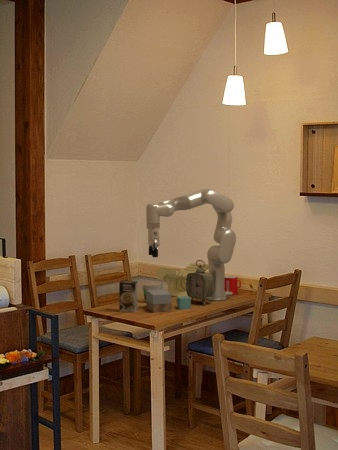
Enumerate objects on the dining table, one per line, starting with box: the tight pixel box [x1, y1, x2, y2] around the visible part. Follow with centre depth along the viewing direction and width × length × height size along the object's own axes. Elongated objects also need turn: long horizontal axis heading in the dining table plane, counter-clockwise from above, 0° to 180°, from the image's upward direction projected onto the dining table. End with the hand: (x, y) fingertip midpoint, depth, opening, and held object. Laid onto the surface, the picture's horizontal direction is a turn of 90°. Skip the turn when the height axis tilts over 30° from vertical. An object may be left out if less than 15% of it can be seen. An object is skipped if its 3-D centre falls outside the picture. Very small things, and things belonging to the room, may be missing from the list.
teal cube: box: [176, 296, 192, 310], centre depth 365 cm, size 6×6×6 cm
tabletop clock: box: [185, 259, 214, 306], centre depth 378 cm, size 14×9×25 cm, turn 45°
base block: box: [146, 300, 173, 314], centre depth 363 cm, size 10×16×5 cm, turn 15°
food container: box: [141, 283, 164, 304], centre depth 381 cm, size 12×6×10 cm, turn 112°
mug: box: [225, 275, 242, 296], centre depth 405 cm, size 12×8×11 cm
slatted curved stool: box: [156, 262, 209, 298], centre depth 404 cm, size 30×16×18 cm, turn 136°
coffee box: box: [118, 280, 138, 313], centre depth 358 cm, size 9×6×16 cm
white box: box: [146, 288, 172, 304], centre depth 362 cm, size 10×16×5 cm, turn 15°
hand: (153, 256), depth 373 cm, fingers open, 9 cm apart
